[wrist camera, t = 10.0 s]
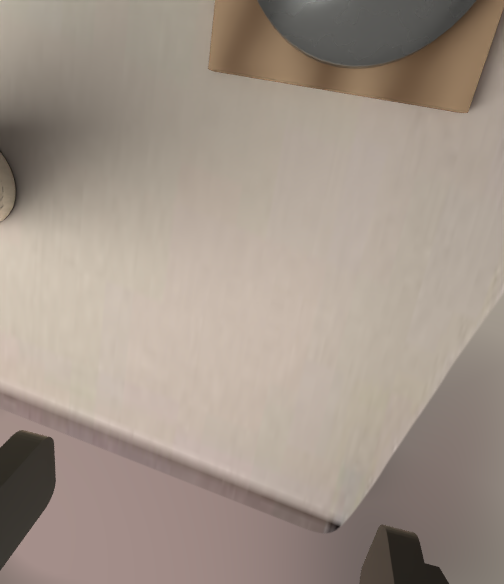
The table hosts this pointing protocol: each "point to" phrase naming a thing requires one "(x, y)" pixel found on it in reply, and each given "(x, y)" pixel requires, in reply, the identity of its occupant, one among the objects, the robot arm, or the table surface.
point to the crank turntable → (362, 27)
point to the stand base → (363, 82)
